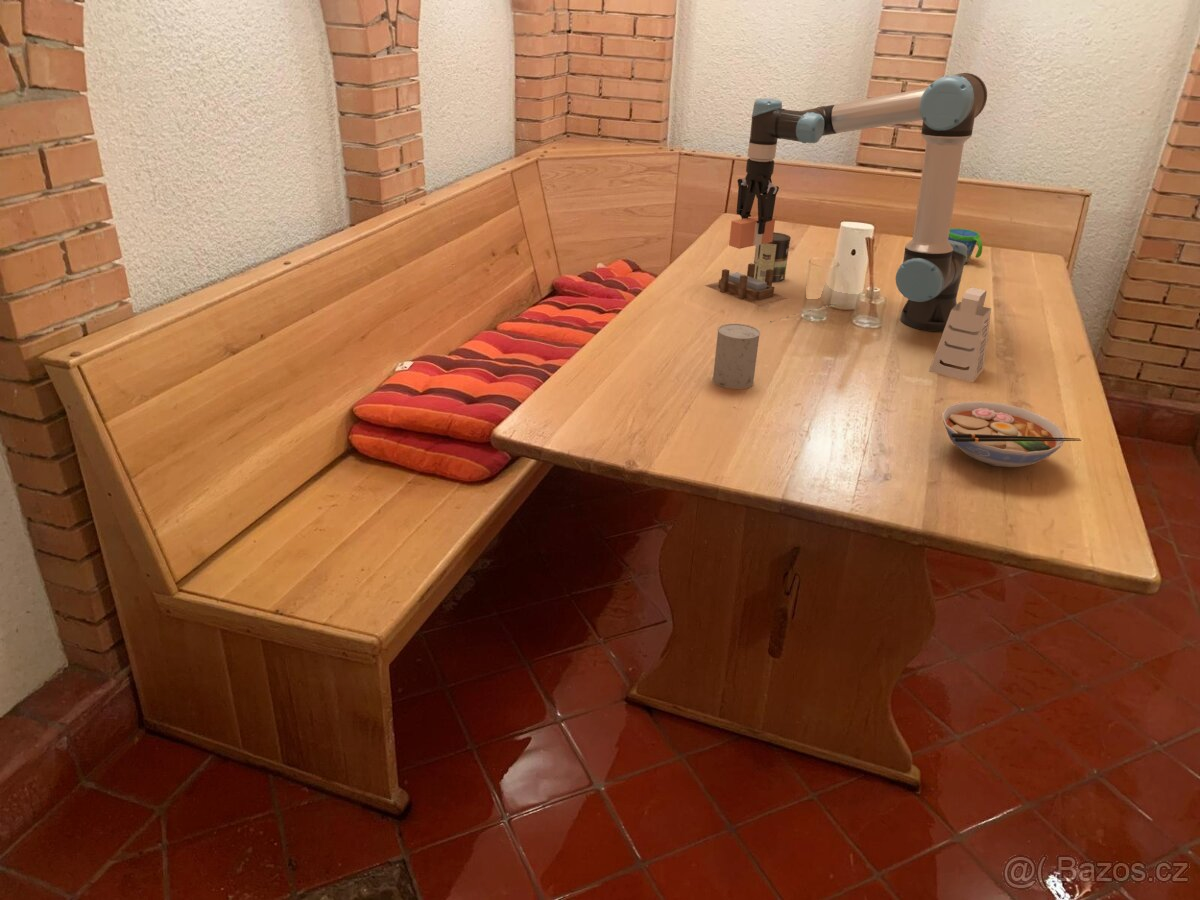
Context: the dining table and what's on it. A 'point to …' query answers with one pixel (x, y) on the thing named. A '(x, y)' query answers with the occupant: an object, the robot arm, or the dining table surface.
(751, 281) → the blue-grey block
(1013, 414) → the ramen bowl
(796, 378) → the dining table surface
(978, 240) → the snack cup
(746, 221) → the orange block
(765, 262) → the coffee can
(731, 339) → the grey concrete cylinder
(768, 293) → the jig
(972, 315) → the grater
